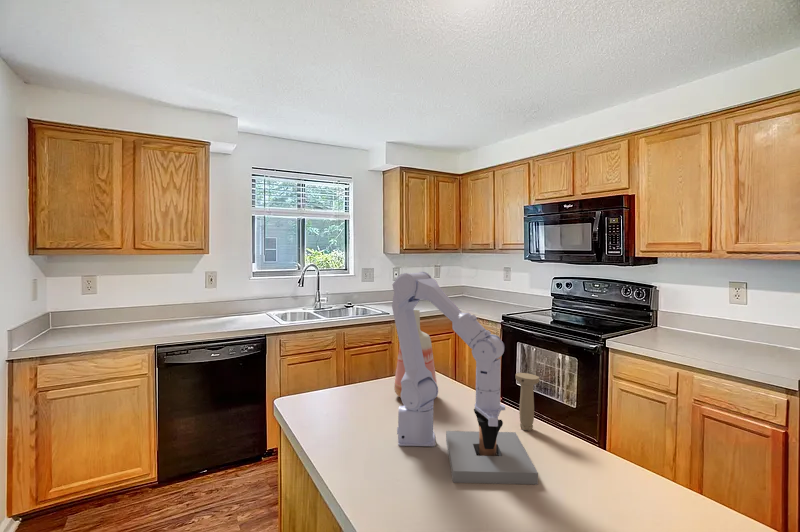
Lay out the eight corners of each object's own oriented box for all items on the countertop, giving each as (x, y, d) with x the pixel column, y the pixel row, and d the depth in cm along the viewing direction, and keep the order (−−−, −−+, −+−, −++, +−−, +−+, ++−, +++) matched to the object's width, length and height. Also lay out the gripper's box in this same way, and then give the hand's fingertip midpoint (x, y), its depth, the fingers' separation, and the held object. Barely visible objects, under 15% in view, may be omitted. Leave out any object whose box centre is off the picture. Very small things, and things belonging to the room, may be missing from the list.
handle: (532, 435, 113) (533, 380, 113) (511, 427, 118) (512, 375, 117) (541, 430, 116) (542, 376, 116) (520, 423, 121) (521, 371, 121)
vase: (390, 391, 147) (390, 308, 146) (429, 388, 151) (429, 307, 150) (399, 406, 133) (400, 314, 132) (442, 403, 137) (443, 312, 136)
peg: (480, 458, 98) (480, 424, 97) (477, 449, 102) (478, 417, 101) (497, 458, 98) (498, 424, 97) (494, 450, 102) (494, 417, 101)
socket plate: (453, 482, 90) (453, 471, 90) (446, 440, 110) (446, 431, 110) (537, 484, 89) (537, 472, 89) (515, 441, 109) (515, 432, 109)
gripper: (512, 398, 92) (511, 459, 92) (498, 378, 106) (498, 431, 107) (479, 398, 92) (479, 458, 92) (470, 377, 106) (470, 430, 107)
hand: (487, 443), depth 99 cm, fingers closed on peg, 4 cm apart
